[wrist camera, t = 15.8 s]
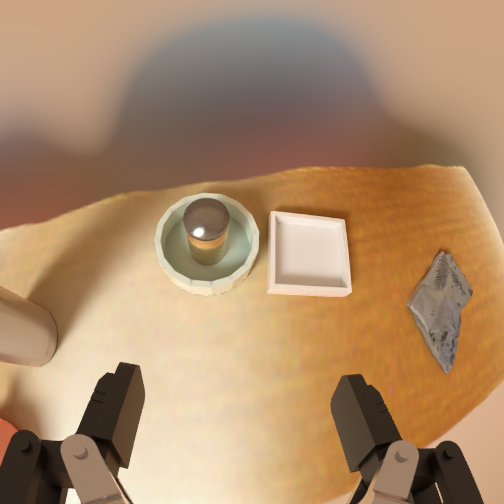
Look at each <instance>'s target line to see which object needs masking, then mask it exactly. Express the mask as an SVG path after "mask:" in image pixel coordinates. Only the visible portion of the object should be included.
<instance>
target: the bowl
mask: <svg viewBox="0 0 504 504" xmlns="http://www.w3.org/2000/svg"><path fill="white" fill-rule="evenodd" d="M200 198H213V199H216V200H219V201H220V202H222V203H223V204H224V205H225V206H226V207H227V209H228V211H229V215H230V220H229V226H228V236H227V246H226V253H225V256H224V258H223V259H222V260H221V261H220V262H219V263H217V264H215V265H211V266H204V265H201V264H198V263H197V262H196V261H194V260H193V258H192V257H191V254H190V250H189V245H188V240H187V235H186V230H185V227H184V222H183V215H184V212H185V210H186V208H187V207H188V205H189V204H190V203H192V202H193V201H195V200H197V199H200ZM154 244H155V248H156V253H157V257H158V261H159V263H160V265H161V267H162V269H163V270H164V272H165V273H166V274H167V275H168V277H169V278H170V280H171V281H172V282H173V283H174V284H175V285H177V286H178V287H179V288H181V289H183V290H184V291H187V292H189V293H192V294H195V295H201V296H213V295H219V294H223V293H225V292H228V291H230V290H232V289H234V288H235V287H236V286H238V285H239V284H240V283H241V282H242V281H243V280H244V279H245V278H246V277H247V276H248V274H249V272H250V270H251V268H252V266H253V264H254V262H255V259H256V256H257V254H258V251H259V230H258V228H257V225H256V223H255V220H254V218H253V216H252V214H251V213H250V212H249V211H248V210H247V209H246V208H245V207H244V206H243V205H242V204H241V203H240V202H238V201H236V200H234V199H232V198H229V197H227V196H225V195H222V194H213V193H199V194H196V195H192V196H188V197H184V198H183V199H181V200H180V201H178V202H177V203H175V204H174V205H172V206H171V207H169V208H168V209H167V211H166V212H165V214H164V215H163V217H162V218H161V220H160V221H159V222H158V225H157V229H156V234H155V239H154Z"/></svg>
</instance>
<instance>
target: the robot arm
mask: <svg viewBox="0 0 504 504" xmlns="http://www.w3.org/2000/svg"><path fill="white" fill-rule="evenodd" d="M56 345H57V329H56V325H55V322H54V320H53V318H52V316H51V315H50V313H49V312H48V311H47V310H46V309H44V308H43V307H41V306H39V305H37V304H34V303H32V302H30V301H29V300H27V299H25V298H23V297H21V296H19V295H17V294H15V293H13V292H11V291H9V290H7V289H5V288H4V287H2V286H0V362H5V363H12V364H19V365H26V366H35V367H39V366H43V365H45V364H46V363H48V362H49V361H50V360H51V358H52V356H53V355H54V352H55V350H56ZM90 399H91V400H90V401H89V403H88V406H87V408H86V410H85V413H84V415H83V418H82V420H81V422H80V425H79V427H78V430H77V432H76V433H75V434H74V435H71V436H69V437H67V438H66V439H65V440H63V441H51V440H39V438H38V437H37V436H36V435H35V434H34V433H33V432H31V431H28V430H21V431H18V432H16V433H15V434H14V435H13V436H12V437H11V439H10V442H9V444H8V447H7V449H6V452H5V455H4V457H3V460H2V463H1V466H0V504H65V502H66V497H67V492H68V488H73V489H75V490H76V492H77V495H78V497H79V499H80V501H81V504H134V503H133V501H132V500H131V498H130V496H129V495H128V493H127V491H126V490H125V488H124V486H123V485H122V483H121V481H120V479H119V478H118V471H119V467H122V468H127V469H128V466H129V462H130V457H131V453H132V449H133V445H134V440H135V436H136V432H137V428H138V424H139V420H140V417H141V413H142V409H143V405H144V400H145V389H144V384H143V379H142V375H141V370H140V366H139V365H135V364H129V363H124V362H120V363H119V365H118V367H117V369H116V372H115V374H113V373H108V372H107V373H106V374H105V375H104V376H103V377H102V378H101V379H99V380H98V383H97V385H96V387H95V389H94V393H93V394H92V396H91V398H90ZM331 412H332V415H333V418H334V421H335V425H336V428H337V431H338V434H339V437H340V440H341V444H342V447H343V450H344V453H345V457H346V460H347V463H348V466H349V470H350V473H352V472H356V471H360V473H361V476H360V478H359V479H358V482H357V484H356V486H355V488H354V490H353V492H352V494H351V496H350V498H349V500H348V501H347V503H346V504H442V502H441V499H440V496H439V493H438V490H437V488H436V485H435V483H437V485H438V488H439V491H440V493H441V496H442V499H443V504H484V503H483V500H482V498H481V495H480V492H479V490H478V488H477V485H476V483H475V480H474V478H473V476H472V473H471V471H470V469H469V466H468V464H467V462H466V460H465V458H464V456H463V453H462V451H461V449H460V448H459V446H458V445H457V444H456V443H454V442H452V441H443V442H441V443H440V444H439V445H438V446H437V447H436V448H431V449H418V448H416V447H415V446H414V445H413V444H412V443H410V442H408V441H403V440H402V438H401V436H400V434H399V432H398V430H397V427H396V425H395V423H394V421H393V419H392V417H391V415H390V413H389V412H388V409H387V407H386V405H385V404H384V401H383V399H382V397H381V395H380V393H379V392H378V391H377V390H376V389H375V388H374V387H373V386H372V385H367V384H366V382H365V380H364V378H363V376H362V375H361V374H354V375H343V376H342V377H341V379H340V381H339V383H338V386H337V388H336V390H335V392H334V394H333V396H332V399H331Z"/></svg>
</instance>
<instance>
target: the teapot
mask: <svg viewBox="0 0 504 504" xmlns="http://www.w3.org/2000/svg"><path fill="white" fill-rule="evenodd" d="M16 432H18V430H17V429H16V428H15V427H14V426H13V425H11V424H10V423H9V422H7V421H5V420H3V419H1V418H0V466H1V463H2V460H3V457H4V455H5V452H6V449H7V447H8V444H9V442H10V439H11V437H12V436H13V435H14V434H15V433H16Z"/></svg>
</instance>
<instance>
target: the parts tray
mask: <svg viewBox="0 0 504 504" xmlns="http://www.w3.org/2000/svg"><path fill="white" fill-rule="evenodd" d="M351 292H352V288H351V275H350V264H349V253H348V244H347V235H346V227H345V219H337V218H329V217H321V216H313V215H305V214H296V213H287V212H278V211H271V213H270V216H269V219H268V266H267V293H271V294H288V295H307V296H330V297H345V296H347V295H348V294H350V293H351Z"/></svg>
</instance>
